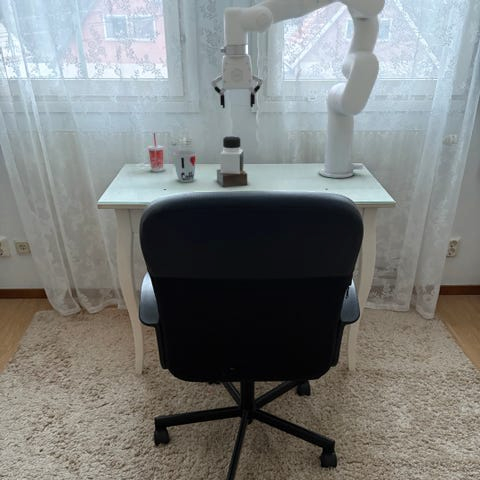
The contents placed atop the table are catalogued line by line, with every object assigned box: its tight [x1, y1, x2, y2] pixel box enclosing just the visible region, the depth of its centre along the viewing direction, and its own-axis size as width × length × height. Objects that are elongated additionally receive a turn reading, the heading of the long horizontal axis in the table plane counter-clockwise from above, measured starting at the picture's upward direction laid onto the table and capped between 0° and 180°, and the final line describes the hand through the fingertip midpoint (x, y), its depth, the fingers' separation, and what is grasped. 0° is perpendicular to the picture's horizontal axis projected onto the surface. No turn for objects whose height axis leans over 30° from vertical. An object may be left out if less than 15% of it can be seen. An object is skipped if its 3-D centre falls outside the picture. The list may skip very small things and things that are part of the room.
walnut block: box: [216, 168, 248, 188], centre depth 187 cm, size 9×9×4 cm
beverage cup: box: [147, 132, 164, 173], centre depth 200 cm, size 6×6×14 cm
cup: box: [172, 149, 197, 183], centre depth 188 cm, size 8×8×10 cm
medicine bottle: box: [219, 135, 244, 174], centre depth 183 cm, size 7×7×12 cm
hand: (237, 107), depth 177 cm, fingers open, 9 cm apart
